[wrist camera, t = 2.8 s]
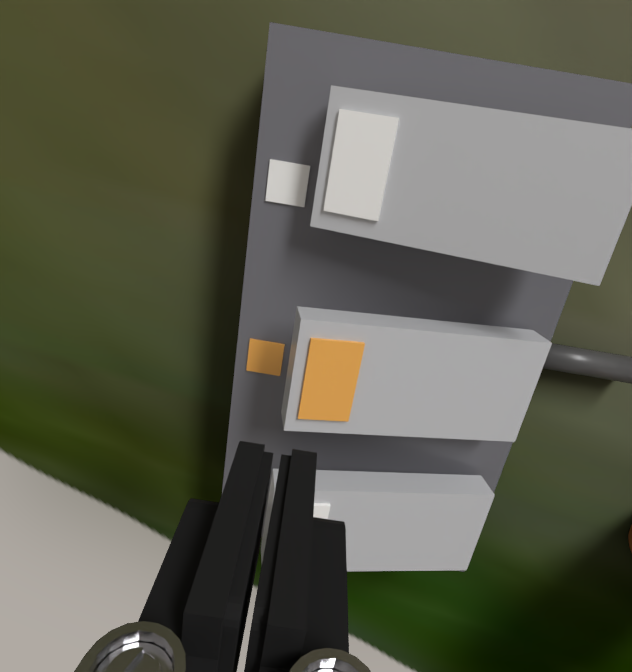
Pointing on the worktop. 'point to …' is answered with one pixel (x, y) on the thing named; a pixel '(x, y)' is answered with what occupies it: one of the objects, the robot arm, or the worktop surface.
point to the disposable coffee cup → (630, 538)
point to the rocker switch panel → (384, 243)
